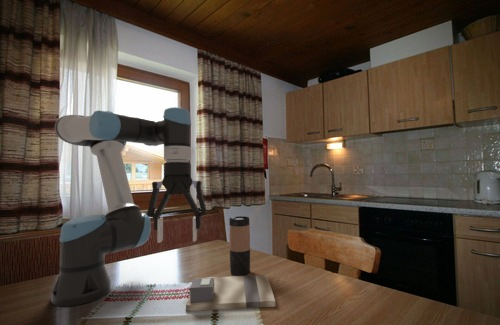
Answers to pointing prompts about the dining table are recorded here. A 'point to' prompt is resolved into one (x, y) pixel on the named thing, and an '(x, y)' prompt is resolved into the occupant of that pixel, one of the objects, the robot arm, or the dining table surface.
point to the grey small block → (202, 290)
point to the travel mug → (239, 245)
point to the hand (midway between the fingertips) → (177, 240)
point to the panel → (237, 293)
